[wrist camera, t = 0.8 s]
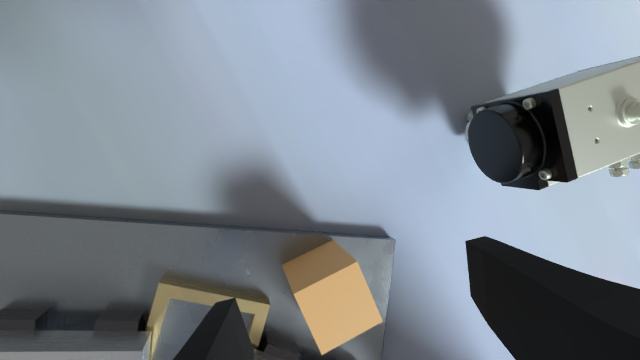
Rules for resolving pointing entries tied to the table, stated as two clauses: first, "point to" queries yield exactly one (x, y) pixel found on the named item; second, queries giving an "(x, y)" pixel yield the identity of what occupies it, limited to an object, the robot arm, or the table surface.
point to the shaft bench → (163, 287)
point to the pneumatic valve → (560, 128)
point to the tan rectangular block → (332, 295)
